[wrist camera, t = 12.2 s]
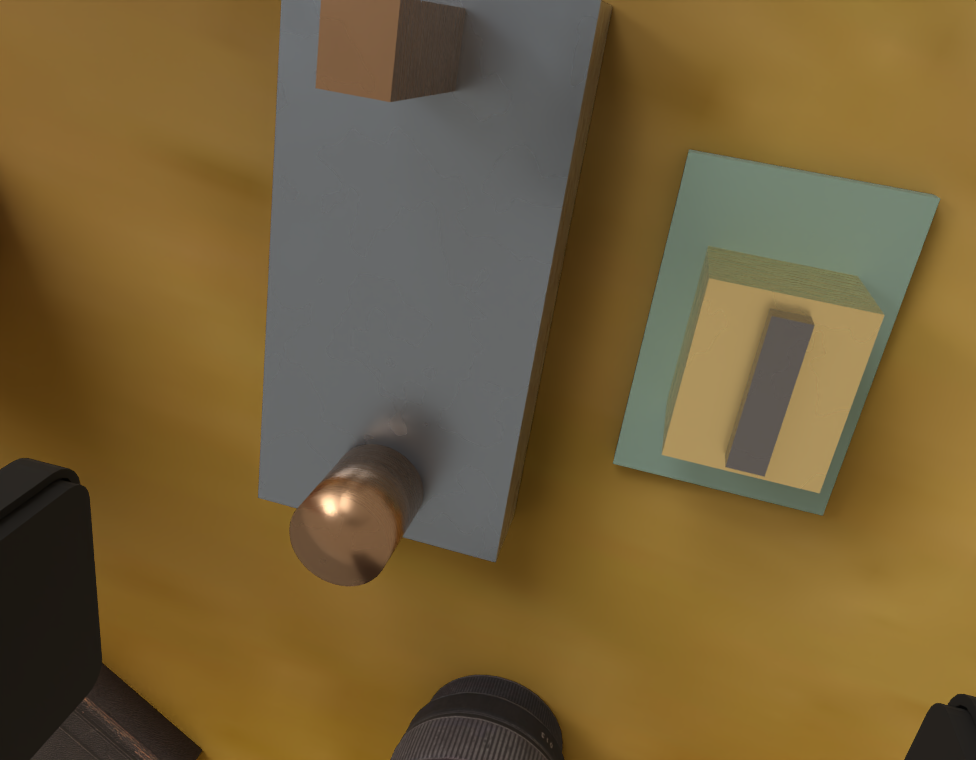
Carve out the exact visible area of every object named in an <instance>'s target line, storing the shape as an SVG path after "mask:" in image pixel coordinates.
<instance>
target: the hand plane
mask: <svg viewBox="0 0 976 760" xmlns="http://www.w3.org/2000/svg"><path fill="white" fill-rule="evenodd" d="M612 8H613V6H612V5H610V4H608V3H606V2H604V1H602V0H281V20H280V41H279V63H278V84H277V106H276V127H275V149H274V170H273V191H272V213H271V234H270V256H269V277H268V299H267V320H266V341H265V363H264V384H263V406H262V427H261V449H260V470H259V491H258V498H261V499H265V500H268V501H272V502H276V503H279V504H283V505H287V506H290V507H294V508H297V510H296V511H295V512H294V514H293V516H292V519H291V522H290V540H291V544H292V547H293V549H294V551H295V553H296V555H297V557H298V558H299V560H300V561H301V562H302V563H303V565H304V566H305V567H306V568H307V569H308V570H309V571H311V572H312V573H313V574H315V575H316V576H317V577H319V578H321V579H323V580H325V581H327V582H330V583H332V584H336V585H341V586H357V585H362V584H365V583H367V582H369V581H371V580H373V579H374V578H375V577H377V576H378V575H379V573H380V572H381V571H382V569H383V568H384V566H385V565H386V563H387V561H388V560H389V558H390V556H391V555H392V553H393V551H394V550H395V548H396V547H397V545H398V543H399V542H400V540H401V538H402V537H404V538H408V539H411V540H415V541H419V542H422V543H426V544H430V545H433V546H437V547H441V548H444V549H448V550H452V551H455V552H459V553H463V554H466V555H470V556H474V557H477V558H481V559H485V560H488V561H492V562H496V560H497V557H498V555H499V552H500V550H501V547H502V545H503V542H504V540H505V537H506V535H507V532H508V530H509V527H510V525H511V522H512V520H513V517H514V513H515V508H516V503H517V498H518V493H519V488H520V482H521V477H522V472H523V467H524V462H525V457H526V451H527V446H528V441H529V436H530V431H531V426H532V420H533V415H534V410H535V405H536V400H537V395H538V390H539V384H540V379H541V374H542V369H543V364H544V359H545V353H546V348H547V343H548V338H549V333H550V328H551V322H552V317H553V312H554V307H555V302H556V297H557V291H558V286H559V281H560V276H561V271H562V266H563V261H564V255H565V250H566V245H567V240H568V235H569V230H570V224H571V219H572V214H573V209H574V204H575V199H576V193H577V188H578V183H579V178H580V173H581V168H582V162H583V157H584V152H585V147H586V142H587V137H588V131H589V126H590V121H591V116H592V111H593V106H594V101H595V95H596V90H597V85H598V80H599V75H600V70H601V64H602V59H603V54H604V49H605V44H606V39H607V33H608V28H609V23H610V18H611V13H612Z"/></svg>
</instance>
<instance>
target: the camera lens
mask: <svg viewBox="0 0 976 760" xmlns="http://www.w3.org/2000/svg"><path fill="white" fill-rule="evenodd" d="M391 760H564V757H563V754H562V734H561V730H560V727H559V724H558V722H557V720H556V718H555V716H554V715H553V713H552V712H551V710H550V708H549V707H548V706H547V705H546V704H545V703H544V702H543V701H542V700H541V699H540V698H539V697H538V696H537V695H536V694H534V693H533V692H531V691H530V690H528V689H527V688H526V687H524V686H522V685H520V684H518V683H516V682H513V681H510V680H507V679H504V678H501V677H497V676H489V675H471V676H466V677H462V678H458V679H456V680H453V681H451V682H449V683H448V684H446V685H445V686H443V687H442V688H440V690H439V691H438V692H437V693H436V694H435V695H434V696H433V698H432V699H431V701H430V702H429V703H428V704H427V705H426V706H424V707H423V708H422V709H421V710H419V712H418V713H417V714H416V715H415V717H414V718H413V720H412V721H411V723H410V725H409V727H408V729H407V731H406V733H405V734H404V736H403V737H402V739H401V741H400V743H399V744H398V745H397V747H396V748H395V750H394V753H393V755H392V757H391Z"/></svg>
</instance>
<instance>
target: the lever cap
mask: <svg viewBox="0 0 976 760" xmlns="http://www.w3.org/2000/svg"><path fill="white" fill-rule="evenodd" d="M883 318H884V313H883V312H882V310H881V309H880V308H879V306H878V305H877V303H876V302H875V300H874V299H873V297H872V296H871V295H870V293H869V292H868V290H867V289H866V287H865V286H864V284H863V283H862V282H861V280H860V279H859V277H858V276H855V275H850V274H845V273H840V272H835V271H830V270H825V269H820V268H815V267H810V266H805V265H800V264H796V263H791V262H786V261H781V260H776V259H771V258H766V257H761V256H756V255H751V254H746V253H741V252H736V251H731V250H727V249H722V248H717V247H712V246H708V248H707V252H706V255H705V259H704V263H703V267H702V271H701V274H700V278H699V282H698V286H697V289H696V293H695V297H694V301H693V305H692V308H691V312H690V316H689V320H688V323H687V327H686V331H685V335H684V339H683V342H682V346H681V350H680V354H679V357H678V361H677V365H676V369H675V373H674V376H673V380H672V384H671V388H670V391H669V395H668V399H667V405H666V415H665V426H664V436H663V446H662V455H664V456H668V457H672V458H677V459H681V460H685V461H689V462H693V463H697V464H701V465H705V466H709V467H713V468H718V469H722V470H726V471H730V472H734V473H738V474H742V475H746V476H750V477H754V478H758V479H763V480H767V481H771V482H775V483H779V484H783V485H787V486H791V487H795V488H799V489H803V490H808V491H812V492H816V493H820V491H821V488H822V485H823V483H824V480H825V477H826V474H827V472H828V469H829V466H830V463H831V461H832V458H833V455H834V452H835V450H836V447H837V444H838V441H839V439H840V436H841V433H842V430H843V428H844V425H845V422H846V420H847V417H848V414H849V411H850V409H851V406H852V403H853V400H854V398H855V395H856V392H857V389H858V387H859V384H860V381H861V378H862V376H863V373H864V370H865V367H866V365H867V362H868V359H869V356H870V354H871V351H872V348H873V346H874V343H875V340H876V337H877V335H878V332H879V329H880V326H881V324H882V321H883Z"/></svg>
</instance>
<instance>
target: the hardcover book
mask: <svg viewBox="0 0 976 760" xmlns="http://www.w3.org/2000/svg"><path fill="white" fill-rule="evenodd" d="M201 752H202V749H201V748H200V747H198V746H197V745H196V744H195V743H194V742H193V741H192V740H190V739H189V738H188V737H187V736H186V735H185V734H183V733H182V732H181V731H180V730H179V729H178V728H177V727H175V726H174V725H173V724H172V723H171V722H170V721H168V720H167V719H166V718H165V717H164V716H163V715H162V714H160V713H159V712H158V711H157V710H156V709H155V708H153V707H152V706H151V705H150V704H149V703H148V702H147V701H145V700H144V699H143V698H142V697H141V696H140V695H138V694H137V693H136V692H135V691H134V690H133V689H132V688H130V687H129V686H128V685H127V684H126V683H125V682H123V681H122V680H121V679H120V678H119V677H118V676H117V675H115V674H114V673H113V672H112V671H111V670H110V669H108V668H107V667H106V666H105V665H104V664H103V663H102V666H101V670H100V674H99V677H98V679H97V681H96V683H95V685H94V687H93V689H92V690H91V691H90V693H89V694H88V695H87V696H86V697H85V699H84V700H83V701H82V702H81V703H80V704H79V705H78V706H77V708H76V709H75V710H74V711H73V712H72V713H71V714H70V715H69V717H68V718H67V719H66V720H65V721H64V722H63V723H62V724H61V726H60V727H59V728H58V729H57V730H56V731H55V732H54V733H53V735H52V736H51V737H50V738H49V739H48V740H47V741H46V742H45V744H44V745H43V746H42V747H41V748H40V749H39V750H38V751H37V753H36V754H35V755H34V756H33V757H32V758H31V759H30V760H196V759H197V758H198V756H199V755H200V753H201Z"/></svg>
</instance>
